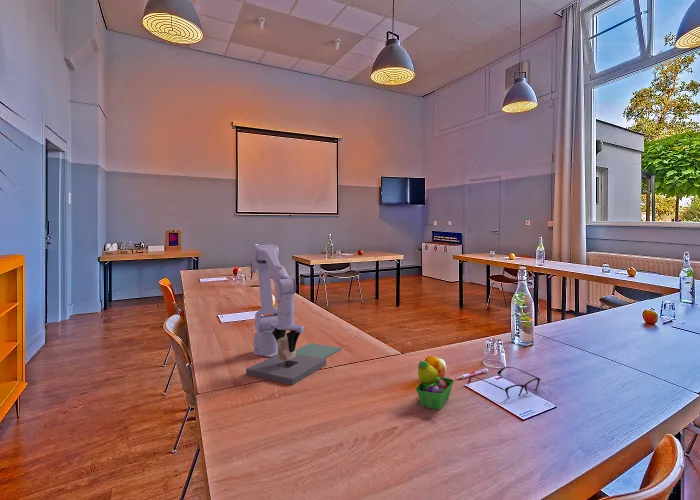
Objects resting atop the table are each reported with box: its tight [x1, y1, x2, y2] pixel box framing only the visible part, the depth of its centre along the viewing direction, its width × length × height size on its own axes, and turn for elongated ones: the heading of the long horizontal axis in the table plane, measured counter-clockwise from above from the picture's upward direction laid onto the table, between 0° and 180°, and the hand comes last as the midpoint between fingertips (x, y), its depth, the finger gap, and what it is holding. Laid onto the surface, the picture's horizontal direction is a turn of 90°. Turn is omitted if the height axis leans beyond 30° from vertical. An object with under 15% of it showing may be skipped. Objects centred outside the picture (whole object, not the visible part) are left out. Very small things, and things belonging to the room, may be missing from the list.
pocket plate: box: [245, 354, 327, 386], centre depth 132 cm, size 20×20×2 cm
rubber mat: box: [296, 342, 343, 360], centre depth 150 cm, size 16×16×1 cm
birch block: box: [277, 335, 297, 361], centre depth 131 cm, size 4×5×7 cm
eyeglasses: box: [468, 366, 541, 399], centre depth 115 cm, size 16×16×4 cm
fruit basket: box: [415, 360, 455, 411], centre depth 105 cm, size 11×9×11 cm
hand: (286, 350), depth 131 cm, fingers closed on birch block, 4 cm apart
